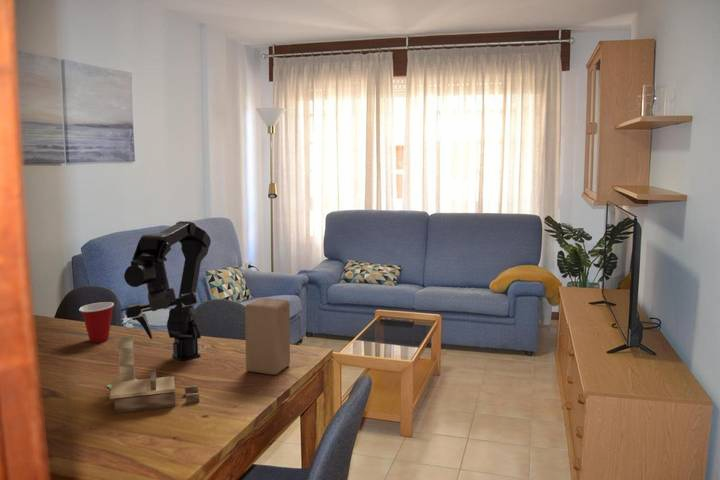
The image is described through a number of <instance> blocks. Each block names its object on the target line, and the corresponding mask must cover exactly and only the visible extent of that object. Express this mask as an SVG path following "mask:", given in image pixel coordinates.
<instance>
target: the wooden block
mask: <svg viewBox="0 0 720 480" xmlns="http://www.w3.org/2000/svg"><path fill="white" fill-rule="evenodd" d="M290 306H291V305H290V301H289V300H288V299H279V298H278V299H277V298H268V297H260V298H258V299H256V300H253V301H251V302H249V303H247V304H245V306H244V314H245V315H244V320H245V321H244V325H245V326H244V329H245V330H244V331H245V333H244V334H245V370H246V371H248V372H251V373H258V374H264V375H265V374H266V375H272V376H275V375H276V376H277V374H279V373H281V372H282V371H283V370H284V369H286V368H287V367H289V366H290V363H291V338H290V337H291V328H290V327H291V325H290V323H291V322H290V321H291V318H290V317H291V315H290V308H291V307H290Z"/></svg>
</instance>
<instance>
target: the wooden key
mask: <svg viewBox="0 0 720 480" xmlns="http://www.w3.org/2000/svg"><path fill="white" fill-rule="evenodd" d="M117 342H118V343H117V344H118V346H117V347H118V362H119V365H118V366H119V367H118V368H119V369H118V370H119V382H121V381H131V380H135V378H136V376H135V375H136V374H135V353H134V336H122V337H118V341H117Z"/></svg>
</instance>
